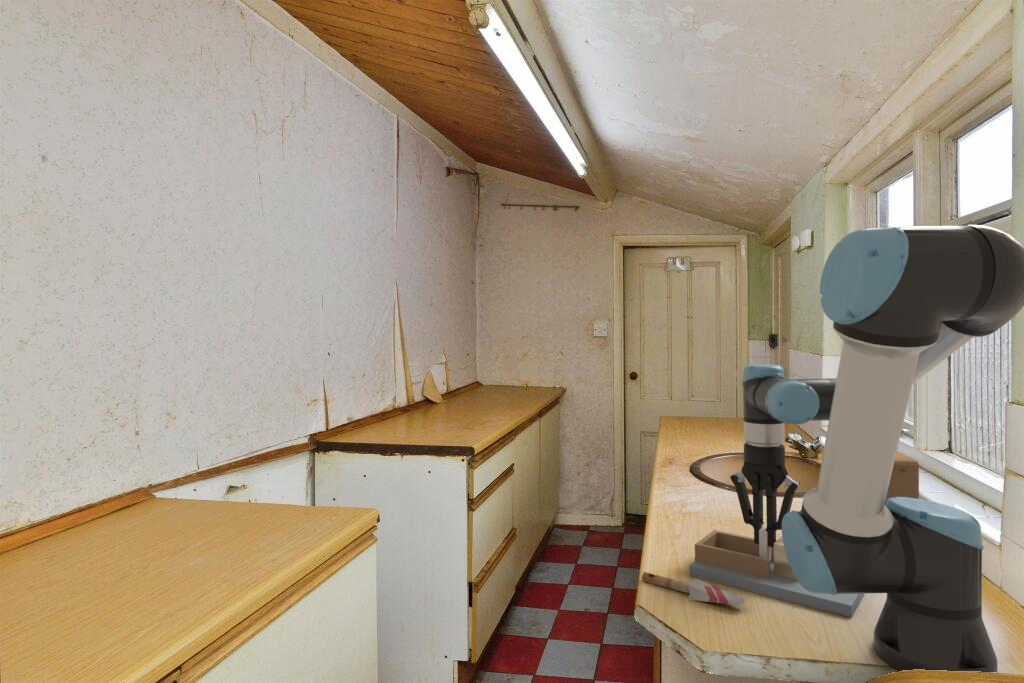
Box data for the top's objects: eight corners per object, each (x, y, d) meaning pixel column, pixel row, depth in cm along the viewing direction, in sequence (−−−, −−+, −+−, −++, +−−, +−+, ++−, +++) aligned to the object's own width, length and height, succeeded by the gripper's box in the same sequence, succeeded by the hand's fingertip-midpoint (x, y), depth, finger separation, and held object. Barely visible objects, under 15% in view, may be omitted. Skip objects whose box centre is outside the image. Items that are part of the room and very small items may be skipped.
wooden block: (921, 552, 131) (920, 460, 131) (870, 549, 133) (869, 459, 133) (901, 536, 141) (901, 450, 141) (854, 534, 143) (853, 450, 143)
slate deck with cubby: (851, 617, 104) (851, 585, 103) (689, 575, 122) (689, 548, 122) (873, 578, 119) (872, 550, 119) (726, 545, 138) (725, 521, 137)
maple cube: (801, 580, 114) (801, 549, 114) (774, 574, 117) (773, 543, 117) (808, 572, 118) (808, 541, 118) (781, 565, 121) (781, 536, 121)
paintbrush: (738, 598, 105) (638, 572, 119) (739, 613, 105) (639, 586, 119) (747, 590, 108) (649, 566, 122) (748, 605, 108) (649, 580, 122)
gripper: (804, 443, 118) (805, 563, 119) (737, 436, 127) (738, 548, 127) (794, 449, 113) (795, 575, 113) (724, 442, 121) (725, 559, 121)
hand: (765, 561), depth 120 cm, fingers closed
